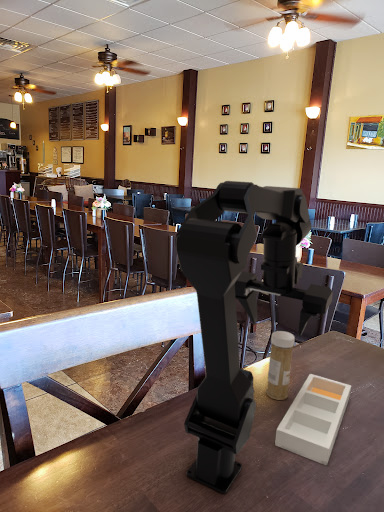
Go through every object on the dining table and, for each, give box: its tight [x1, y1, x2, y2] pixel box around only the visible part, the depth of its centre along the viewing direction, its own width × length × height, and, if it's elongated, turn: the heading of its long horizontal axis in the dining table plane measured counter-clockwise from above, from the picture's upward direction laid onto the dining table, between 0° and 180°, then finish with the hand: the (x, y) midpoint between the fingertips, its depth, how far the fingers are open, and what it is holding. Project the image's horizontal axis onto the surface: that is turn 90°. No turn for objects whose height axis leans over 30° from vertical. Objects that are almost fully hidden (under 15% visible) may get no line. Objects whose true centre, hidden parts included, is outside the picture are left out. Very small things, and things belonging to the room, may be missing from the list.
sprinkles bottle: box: [265, 330, 296, 401], centre depth 80 cm, size 5×5×13 cm
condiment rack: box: [274, 373, 352, 466], centre depth 74 cm, size 24×8×3 cm, turn 150°
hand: (276, 329), depth 77 cm, fingers open, 9 cm apart
